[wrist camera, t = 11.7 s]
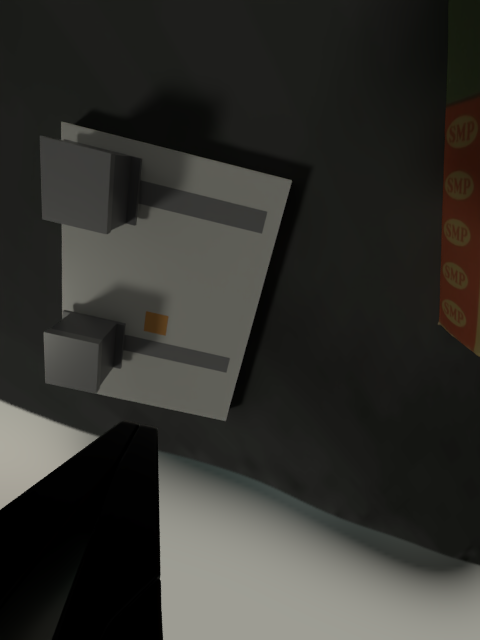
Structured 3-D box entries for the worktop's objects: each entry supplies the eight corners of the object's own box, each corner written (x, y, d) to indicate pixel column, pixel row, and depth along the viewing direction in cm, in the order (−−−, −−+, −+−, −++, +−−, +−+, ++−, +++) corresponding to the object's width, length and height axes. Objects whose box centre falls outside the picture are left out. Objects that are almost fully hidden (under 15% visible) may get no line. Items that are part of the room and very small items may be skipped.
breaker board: (289, 179, 15) (292, 180, 14) (227, 409, 21) (225, 421, 20) (73, 124, 15) (61, 121, 14) (71, 376, 21) (62, 386, 20)
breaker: (142, 157, 14) (120, 156, 12) (136, 226, 15) (115, 236, 13) (66, 138, 14) (29, 133, 12) (66, 209, 15) (33, 216, 13)
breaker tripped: (125, 322, 17) (106, 345, 15) (121, 367, 19) (103, 395, 16) (64, 308, 17) (35, 330, 15) (64, 355, 18) (38, 381, 16)
